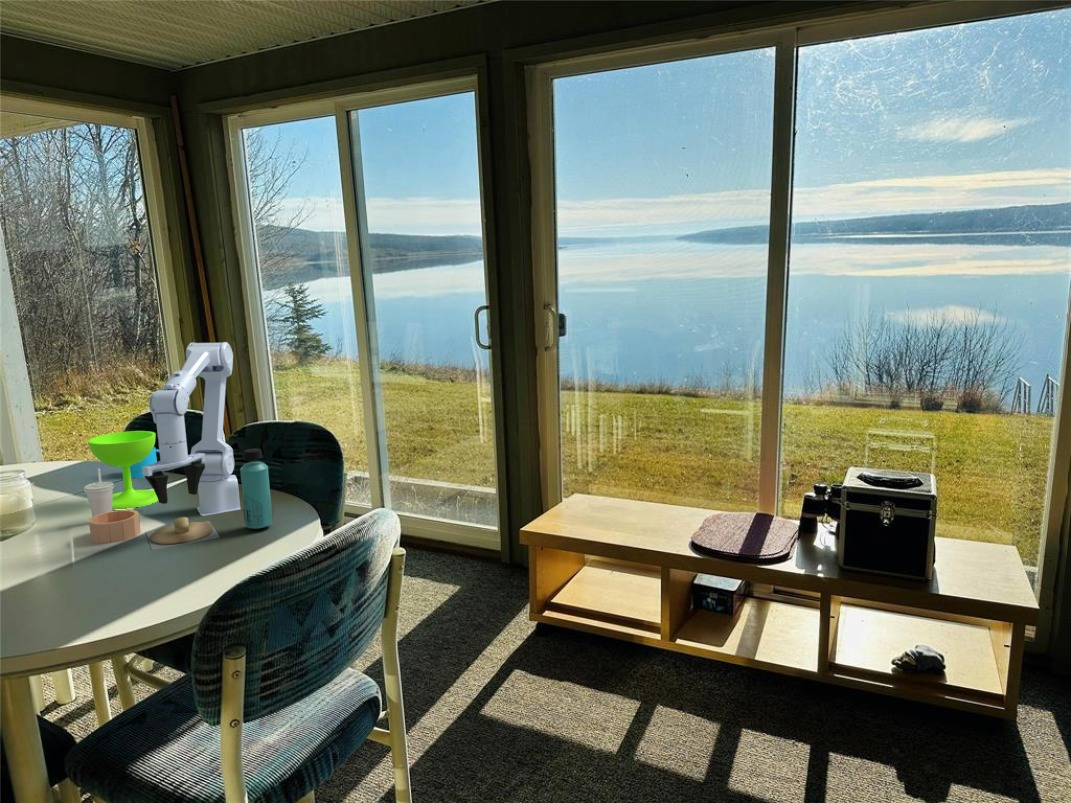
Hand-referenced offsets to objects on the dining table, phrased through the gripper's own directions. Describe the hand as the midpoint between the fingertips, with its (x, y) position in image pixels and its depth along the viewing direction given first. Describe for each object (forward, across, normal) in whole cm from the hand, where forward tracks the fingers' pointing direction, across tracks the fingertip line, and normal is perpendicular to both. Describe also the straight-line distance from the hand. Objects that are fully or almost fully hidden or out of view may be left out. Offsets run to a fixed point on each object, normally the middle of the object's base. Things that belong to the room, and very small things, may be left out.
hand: (178, 498), depth 165 cm
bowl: (+9, +7, -14) cm, 18 cm away
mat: (+9, 0, 0) cm, 9 cm away
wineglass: (+10, -11, -38) cm, 41 cm away
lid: (+9, 0, 0) cm, 9 cm away
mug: (+10, -32, -60) cm, 68 cm away
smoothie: (+10, +2, -27) cm, 29 cm away
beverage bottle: (+10, -11, +13) cm, 20 cm away
